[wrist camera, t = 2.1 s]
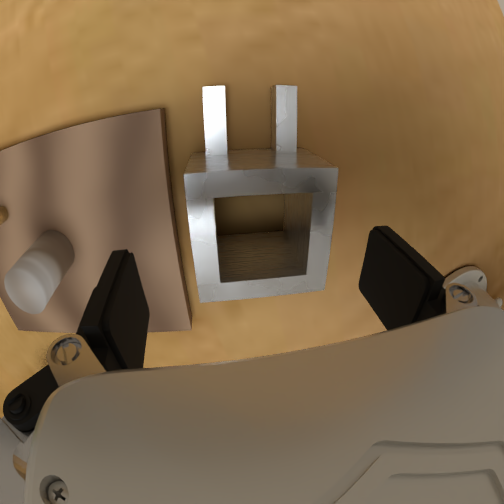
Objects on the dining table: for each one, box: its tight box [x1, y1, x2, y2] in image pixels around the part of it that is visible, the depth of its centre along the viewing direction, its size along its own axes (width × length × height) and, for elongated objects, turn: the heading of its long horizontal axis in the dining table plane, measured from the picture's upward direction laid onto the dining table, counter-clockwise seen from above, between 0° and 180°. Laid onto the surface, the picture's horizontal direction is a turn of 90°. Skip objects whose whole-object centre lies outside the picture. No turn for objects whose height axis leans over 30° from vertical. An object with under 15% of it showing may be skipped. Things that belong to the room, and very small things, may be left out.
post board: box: [0, 108, 192, 333], centre depth 15 cm, size 18×16×6 cm
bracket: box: [184, 85, 338, 303], centre depth 15 cm, size 11×7×6 cm, turn 1°
